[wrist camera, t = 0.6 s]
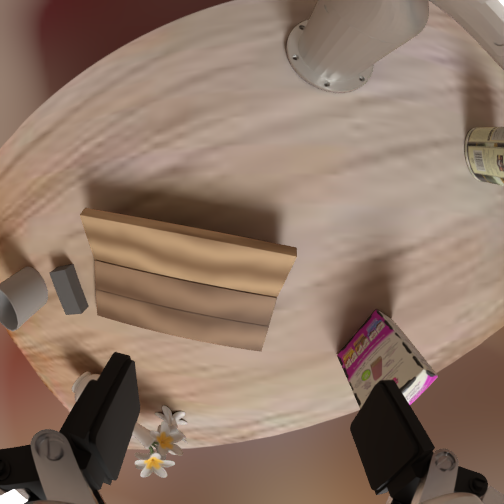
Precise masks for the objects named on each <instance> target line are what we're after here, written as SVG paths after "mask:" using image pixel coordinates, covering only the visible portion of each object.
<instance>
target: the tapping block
mask: <svg viewBox="0 0 504 504" xmlns="http://www.w3.org/2000/svg"><path fill="white" fill-rule="evenodd" d="M50 276H51V279H52V281H53V284H54V287H55V289H56V292H57V295H58V297H59V300H60V302H61V304H62V307H63V309H64V311H65V314H66V315H70V314H82V313H83V312H84V311H85V310H86V308H87V307H88V303H87V301H86V298H85V296H84V293H83V290H82V288H81V285H80V282H79V279H78V277H77V274H76V271H75V268H74V265H73V264H70V265H65V266H60V267H57V268H56V269H54V270H53V271H51V272H50Z"/></svg>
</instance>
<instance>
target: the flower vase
mask: <svg viewBox="0 0 504 504" xmlns="http://www.w3.org/2000/svg"><path fill="white" fill-rule="evenodd" d="M99 376H100V374H91V373H90V372H89V371H87V372H85V373H83V374H82V375H81V376H80V377H79V378H78V379H77V380H76V381H75V382H74V384H73V386H72V391H73V392H74V393H75V401H76V402H77V400H78V398H79V397H80V395H81V393H82V392H83V390H84V388H85V387H86V385H87V383H88V382H89V381H90V380H92V379H94V380H97V379H98V378H99ZM162 411H163V413H164V415H163V414H161V413H155V415H156V416H158V417H159V418H161V419H163V420H164V421H163V422H162V423H161V425H159V426H158V430H157V431H150V430H148V429H146V428H145V427H143V426H141V425H140V424H138V423H137V422H136V424H135V427H134V430H133V433H132V435H133V436H134V437H135V438H137V439H138V440H139V441H140V442H141V443H142V444H143V446H144V447H145V448H146V449H148V448H149V449H150V452H149V453H148V454H143V453H135V456H136V457H137V458H140V459H142V460H137V461H135V464H136V468H137V469H143V470H142V472H141V477H147V476H149V475H150V474H151V473H152V472H154V473H155V474H157V475H158V476H160V477H162V478H165V477H167V473H166V471H165V469H164V468H163V467H170V466H173V465H174V464H175V462H173V461H168V460H165V459H166V454H167V452H169V453H171V454H173V455H176V454H177V455H180V456H181V455H183V452H182V450H181V448H180V447H179V446H177V445H176V444H173V443H177V442H179V441H181V440H183V441H184V442H186V443H187V441H186V440H185V439H186V437H185V435H184V434H183V433H182V432H181V431H179V430H178V429H177V428H178V425H177V424H180V425H186V424H187V422H186V421H183V420H180V419H181V418H182V417H184V416H185V412H183V411H179V412H176V413H174V414H173V416H172V412H171V410H170V409H169V408H168V407H167V406H162ZM184 438H185V439H184ZM155 444H156V445H155ZM151 445H152V446H154V447H155V448H156V450H157V452H155V451H153V448H152V446H151ZM161 465H162V466H163V467H162V466H161Z"/></svg>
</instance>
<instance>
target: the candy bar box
mask: <svg viewBox="0 0 504 504" xmlns="http://www.w3.org/2000/svg"><path fill="white" fill-rule="evenodd" d="M337 357H338V359H339V361H340V364H341V366H342V368H343V370H344V372H345V375H346V377H347V379H348V382H349V384H350V386H351V388H352V391H353V393H354V395H355V398H356V400H357V403H358V405H359V407H360V409H361V408H362V406H363V404H364V403H365V401H366V399H367V398H368V396H369V394H370V392H371V391H372V389H373V387H374V386H375V384H377V383H378V382H379V381H380V380H394V381H395V383H396V384H397V386H398V387H399V389H400V390H401V392H402V394H403V395H404V397H405V398H406V400H407V402H408V403H409V405H411V404H412V403H413V402H414V401H415V400H416V399H417V398H418V397H419V396H420V395H421V394H422V393H423V392H424V391H425V390H426V389H427V388H428V387H429V386H430V384H432V383H433V381H434V380H435V379H436V378H437V377H438V375H437V374H436V373H435V371H434V370H433V369H432V367H431V366H430V365H429V364H428V363H427V361H426V360H425V359H424V357H423V356H422V355H421V354H420V352H419V351H418V350H417V349H416V348H415V346H414V345H413V344H412V342H411V341H410V340H409V339H408V338H407V336H406V335H405V334H404V333H403V332H402V330H401V329H400V328H399V327H398V326H397V325H396V323H395V322H394V321H393V320H392V319H391V318H389V317H388V316H386V315H385V314H383V313H382V312H380V311H379V310H377V309H376V310H375V311H374V312H373V314H372V315H371V316H370V317H369V319H368V320H367V321H366V322H365V324H364V325H363V326H362V327H361V328H360V330H359V331H358V332H357V333H356V334H355V336H354V337H353V338H352V339H351V340H350V342H349V343H348V344H347V345H346V346H345V347H344V348H343V349H342V351H341V352H340V353H339V354H338V355H337Z"/></svg>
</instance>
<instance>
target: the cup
mask: <svg viewBox="0 0 504 504" xmlns="http://www.w3.org/2000/svg"><path fill="white" fill-rule="evenodd" d="M47 299H48V290H47V287H46V284H45V281H44V279H43V278H42V277H41V275H40V274H39V272H38V271H36V270H35V269H34V268H32V267H25V268H23V269H22V270H20V271H19V272H17V273H15V274H14V275H12V276H11V277H9V278H8V279H6V280H5V281H3V282H2V283H0V322H1V323H2V324H3V325H4V326H5V327H6V328H7V329H9V330H11V331H15V330H17V329H18V328H19V327H20V326H21V325H22V324H23V323H25V322H26V321H27V320H28V319H29V318H30V317H31V316H32V315H33V314H34V313H36V312H37V311H38V310H39V309H40V308H41V307H42V306H44V305H45V304H46V302H47Z"/></svg>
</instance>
